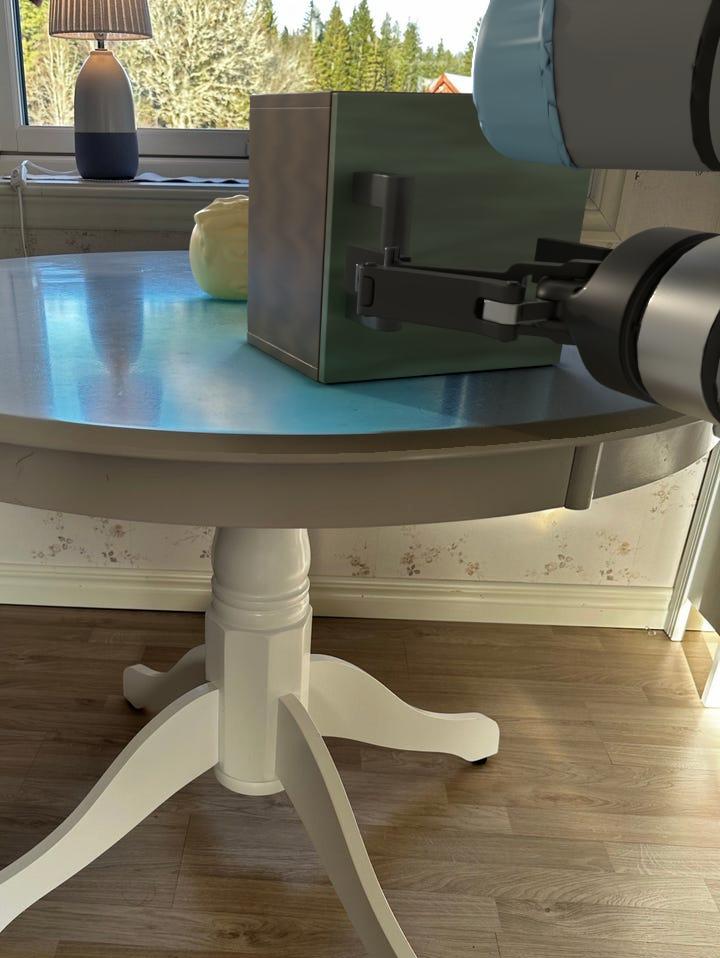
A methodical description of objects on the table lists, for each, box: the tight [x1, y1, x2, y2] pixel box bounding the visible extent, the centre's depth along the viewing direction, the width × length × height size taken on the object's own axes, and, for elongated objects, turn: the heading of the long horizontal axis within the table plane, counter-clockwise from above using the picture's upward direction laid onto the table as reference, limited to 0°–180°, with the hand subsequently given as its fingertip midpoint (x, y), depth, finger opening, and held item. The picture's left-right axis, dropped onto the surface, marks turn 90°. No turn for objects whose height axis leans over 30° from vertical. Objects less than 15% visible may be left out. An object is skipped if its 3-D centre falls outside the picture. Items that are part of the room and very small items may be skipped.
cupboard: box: [246, 89, 473, 383], centre depth 81 cm, size 16×22×20 cm
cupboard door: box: [319, 93, 593, 384], centre depth 71 cm, size 7×22×20 cm, turn 110°
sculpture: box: [188, 194, 249, 301], centre depth 109 cm, size 11×12×11 cm
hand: (447, 263), depth 60 cm, fingers open, 13 cm apart
